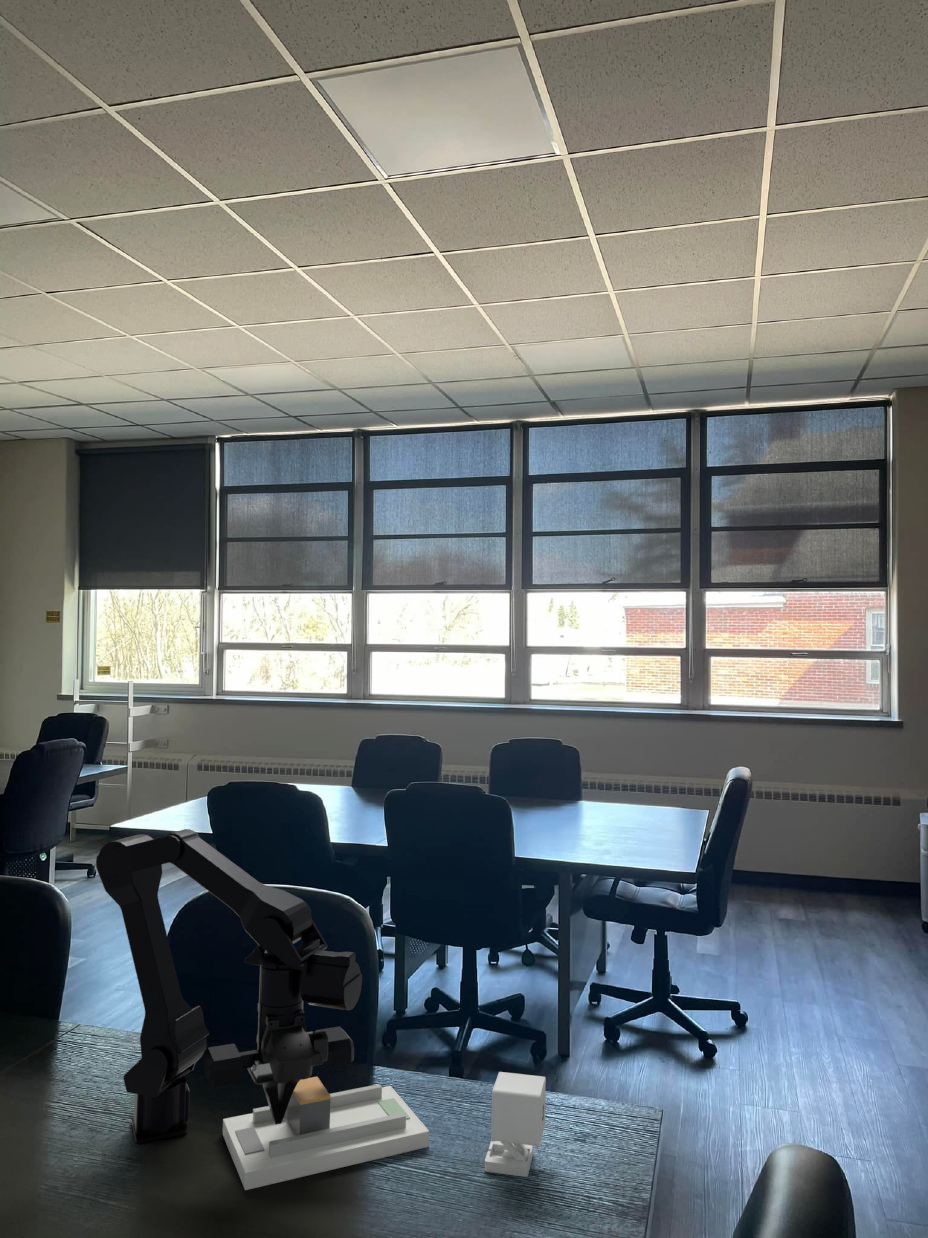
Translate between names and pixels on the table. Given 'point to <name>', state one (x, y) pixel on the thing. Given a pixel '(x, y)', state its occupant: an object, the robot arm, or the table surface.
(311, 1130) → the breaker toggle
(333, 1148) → the white rail tray
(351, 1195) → the table surface
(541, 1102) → the security camera
